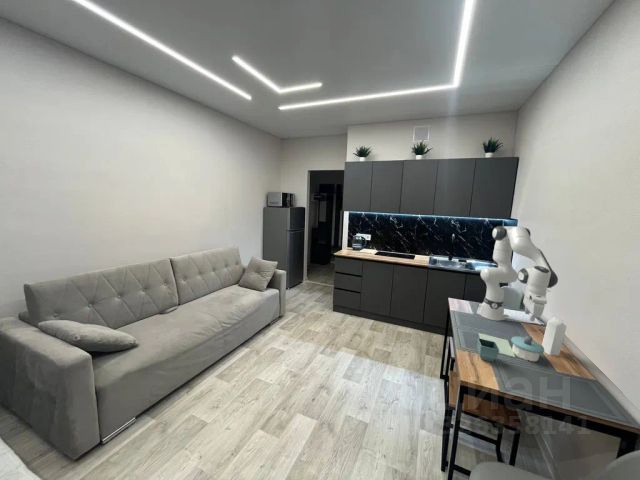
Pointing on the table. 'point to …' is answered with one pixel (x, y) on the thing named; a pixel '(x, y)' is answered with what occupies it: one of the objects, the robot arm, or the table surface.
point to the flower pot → (487, 349)
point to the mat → (500, 344)
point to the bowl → (525, 354)
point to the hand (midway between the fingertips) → (529, 317)
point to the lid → (527, 344)
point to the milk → (554, 336)
